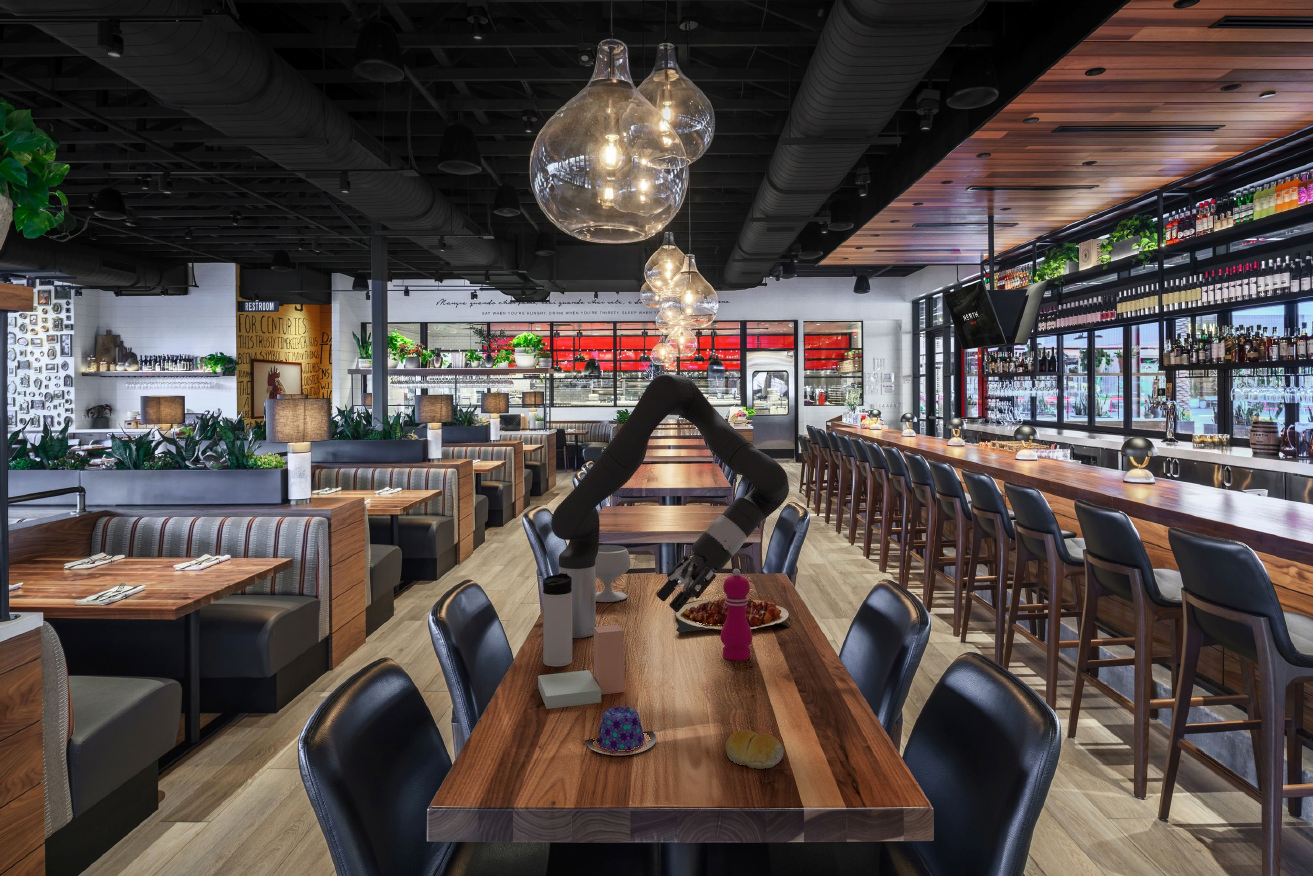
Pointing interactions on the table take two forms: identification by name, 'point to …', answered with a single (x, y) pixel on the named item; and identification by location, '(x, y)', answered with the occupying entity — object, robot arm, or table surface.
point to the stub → (609, 658)
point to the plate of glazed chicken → (718, 611)
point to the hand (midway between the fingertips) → (665, 603)
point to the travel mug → (557, 620)
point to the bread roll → (754, 749)
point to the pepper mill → (736, 619)
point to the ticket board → (569, 689)
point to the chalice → (611, 570)
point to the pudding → (621, 731)
